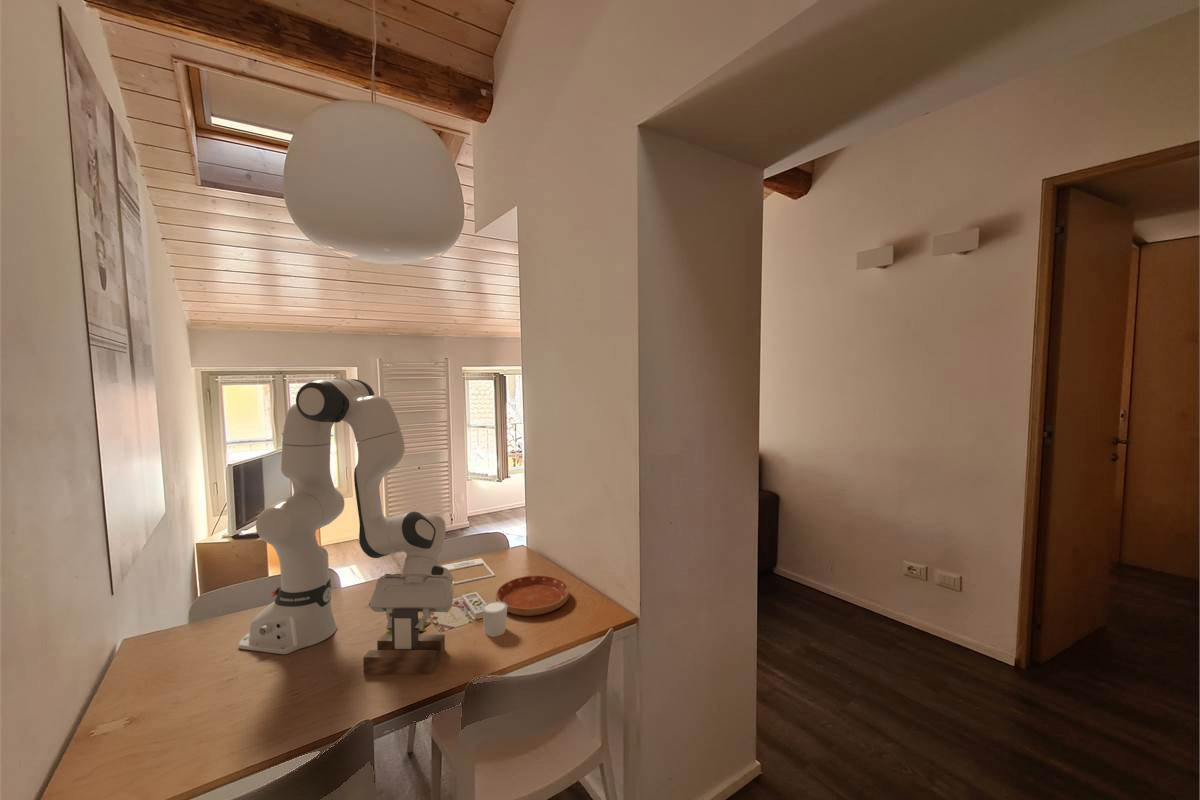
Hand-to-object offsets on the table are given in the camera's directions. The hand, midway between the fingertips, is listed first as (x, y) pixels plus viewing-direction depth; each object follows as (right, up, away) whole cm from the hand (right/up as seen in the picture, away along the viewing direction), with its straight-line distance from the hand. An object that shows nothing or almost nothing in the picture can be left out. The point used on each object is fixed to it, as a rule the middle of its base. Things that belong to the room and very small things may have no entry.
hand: (404, 629), depth 116 cm
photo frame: (0, -7, +56) cm, 56 cm away
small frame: (0, -6, +1) cm, 6 cm away
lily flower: (-5, -8, +16) cm, 19 cm away
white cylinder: (+19, -8, +15) cm, 26 cm away
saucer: (+27, -7, +33) cm, 43 cm away
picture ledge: (0, -8, +1) cm, 8 cm away
